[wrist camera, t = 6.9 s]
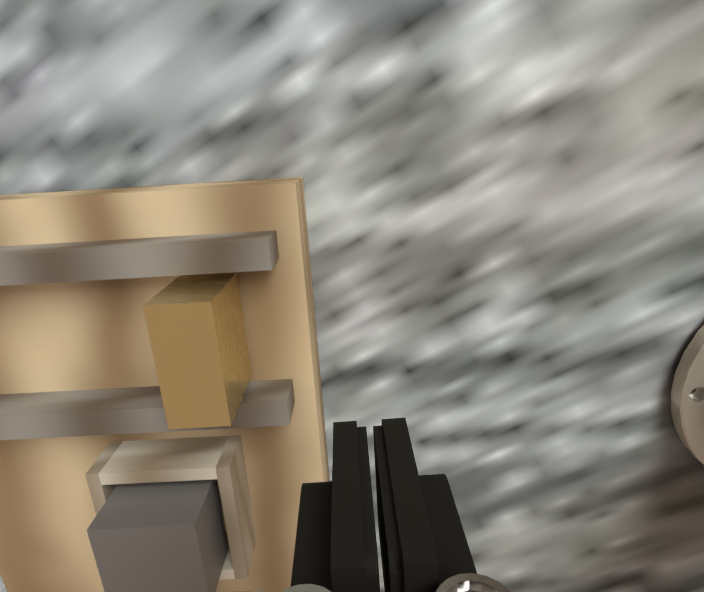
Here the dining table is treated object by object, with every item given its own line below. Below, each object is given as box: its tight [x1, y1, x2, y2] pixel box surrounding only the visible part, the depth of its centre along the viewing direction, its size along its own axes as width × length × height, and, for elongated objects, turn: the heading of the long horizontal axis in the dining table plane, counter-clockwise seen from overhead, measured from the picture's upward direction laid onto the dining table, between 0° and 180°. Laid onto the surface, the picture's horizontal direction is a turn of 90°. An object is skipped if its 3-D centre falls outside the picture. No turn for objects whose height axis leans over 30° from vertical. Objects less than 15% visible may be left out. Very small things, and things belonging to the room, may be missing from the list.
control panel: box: [0, 177, 330, 592], centre depth 25 cm, size 18×30×5 cm, turn 3°
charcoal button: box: [87, 479, 228, 592], centre depth 21 cm, size 4×4×3 cm
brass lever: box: [143, 272, 252, 429], centre depth 19 cm, size 2×5×4 cm, turn 3°
